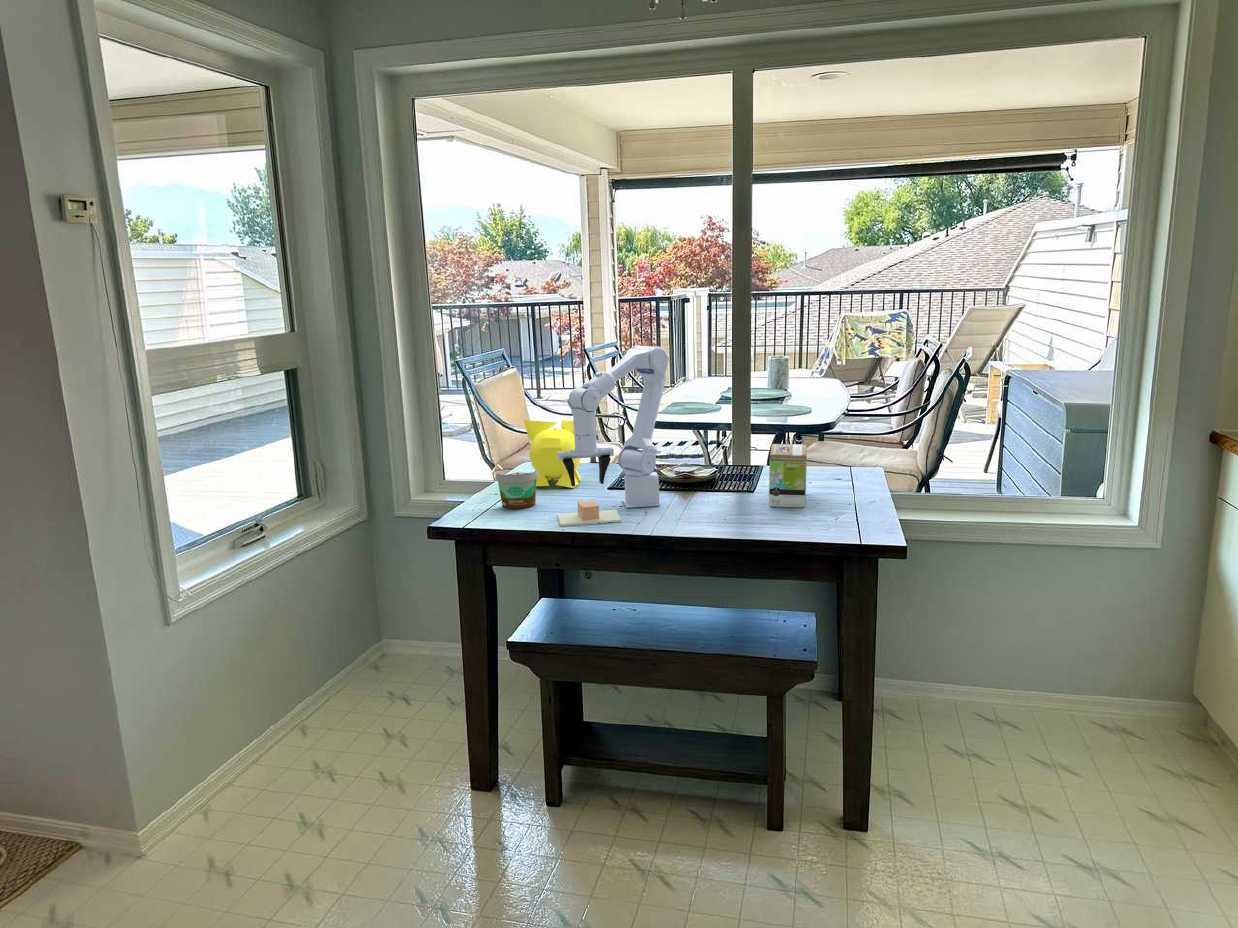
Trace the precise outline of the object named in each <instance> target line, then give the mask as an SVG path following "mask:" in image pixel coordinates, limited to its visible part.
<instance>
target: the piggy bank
mask: <svg viewBox="0 0 1238 928" xmlns="http://www.w3.org/2000/svg"><path fill="white" fill-rule="evenodd" d="M523 422H524V426H525V431H526V433H527V437H528V438H527V439H528V440H530V441H531V443H530V450H529V456H528V457H529V460H530V463H531V466H532V467H533V469H534V470H535V471H536V469H537V471H538V475H539V477H538V478H537V479H536V487H549V486H550V484H549V482H550V481H551V480H558V481H557V482H556V483H555V485H556V486H559V487H561V486H562V487H566V488H571V489H574V488H575V487H576V486H578V484H579V482H581V480H582V479H581V478H582V477H581V476H580V474H579V473H578V470H577V469H578V467H579V465H580V464H581V463H580V462H581V458H578V459H572V460H573V463H574V478H575V487H572V485H571V481H570V477H569V474H568V472H567V469H566V467H565V465H564V463H563V461H559V459H558V452H563V451H569V450H575V442H574V423H573V420H565V419H561V428H557V427H554V426H555V425H557V424H558V422H554V421H542V420H540V421H539V420H529V419H527V420H526V419H524V420H523ZM552 427H554V428H552Z"/></svg>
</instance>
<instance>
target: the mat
mask: <svg viewBox="0 0 1238 928" xmlns="http://www.w3.org/2000/svg"><path fill="white" fill-rule="evenodd" d="M557 519H558V523H559V527H561V528H562V527H573V526H587V525H598V523H601V524H609V523H608V522H615V523H622V518H621V516H620V514H619V513H618V510H617V509H606V510H605V509H604V510H602V509H601V510H599V519H591V520H582V519H581V518H580V516H579V515H578V511H577V512H565V513H564V512H562V513H557Z"/></svg>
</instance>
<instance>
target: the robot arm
mask: <svg viewBox="0 0 1238 928" xmlns="http://www.w3.org/2000/svg"><path fill="white" fill-rule="evenodd" d="M669 360H670V358H669V355H668V354H667V352H666V350H665V348H663V347H662V346H658V345H657V346H648V345H647V346H645V345H639V344H636V345H632V347H631V348H630V349H628V350H626V353H625V355H624V356H623V357H622V358H621V359H620V360H619V361H617V363H615V364H614V365H613V366H612V367H611V368H610V369H609V370H607V371H604V370H603V371H596V372H595V374H594V376H593V377H592V378H591V379H590V380H588V381H586V382H584V383H583V384H582V385H581V387H575V388H573V389H572V390H571V391H570V393H569V395H568V399H567V400H566V401H567V404H568V407H569V408H570V410H571V415H572V418H573V419H572V421H573V423H574V442H575V450H569V451H563V452H558V459H559V461H563V463H564V465H565V467H566V469H567V472H568V474H569V477H570V481H571V485H572V487H574V488H575V487H576V486H575V478H574V463H573V460H572V459H578V458H580V459H586V458H597V459H598V469H599V470H598V471H599V473H598V474H599V478H598V479H599V483H600V485H604V483H605V477H606V473H607V470H608V467H609V465H610V462H611V460H612V459H611V457H614V456H615V453H614V452H615V451H614V450H615V449H614V448H613V447H597V431H596V430H597V429H596V427H597V426H596V410H597V409H598V408H599V406H600V402H601V401H602V399H603V398H605V397H606V396H607V395H609V393H611V392H612V391H613V390H614V389H615V388H616V383H617V382H618V381H619V380H621V379H622V378H623V377H625V376H626V375H628V374H629V373H631V372H633V370H634V371H635V372H636V373H637V374H638V375H639V376H640V377H641V379H643V381H644V384H643V389H642V392H641V397H640V401H639V404H638V405H639V406H638V409H637V414H636V418H635V421H634V426H633V429H632V434H631V437H629V438H628V439H627V440H625V441H624V443H623V447H622V448H621V450H620V452H619V453H618V457H617V463H618V465H619V468H621V469H622V473H624V474H623V475H624V476H623V477H624V493H625V494H624V496H625V498H623V499H622V502H623V504H624V507H625V508H626V509H629V508H630V509H631V508H634V509H635V508H645V507H647V508H648V507H659V506H660V505H661V503H660V481H659V475H658V472H657V471H654V470H655V467H656V464H657V457H656V455H657V448H656V446H655V445H654V444H653V442H652V439H653V434H654V430H655V425H656V422H657V417H658V414H659V413H658V412H659V409H660V404H661V401H662V396H663V393H664V392H663V391H664V388H665V384H666V380H667V379H666V375H667V373H666V372H667V370H668V369H667V368H668V364H669Z"/></svg>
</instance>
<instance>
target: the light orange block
mask: <svg viewBox="0 0 1238 928" xmlns="http://www.w3.org/2000/svg"><path fill="white" fill-rule="evenodd" d="M599 506H600V505H599V504H598V503H597V502H596V501H595V499H591V500H582V501H577V512H578V515H579V516H580V518H581V519H582V520H591V519H599V511H600V507H599Z"/></svg>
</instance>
